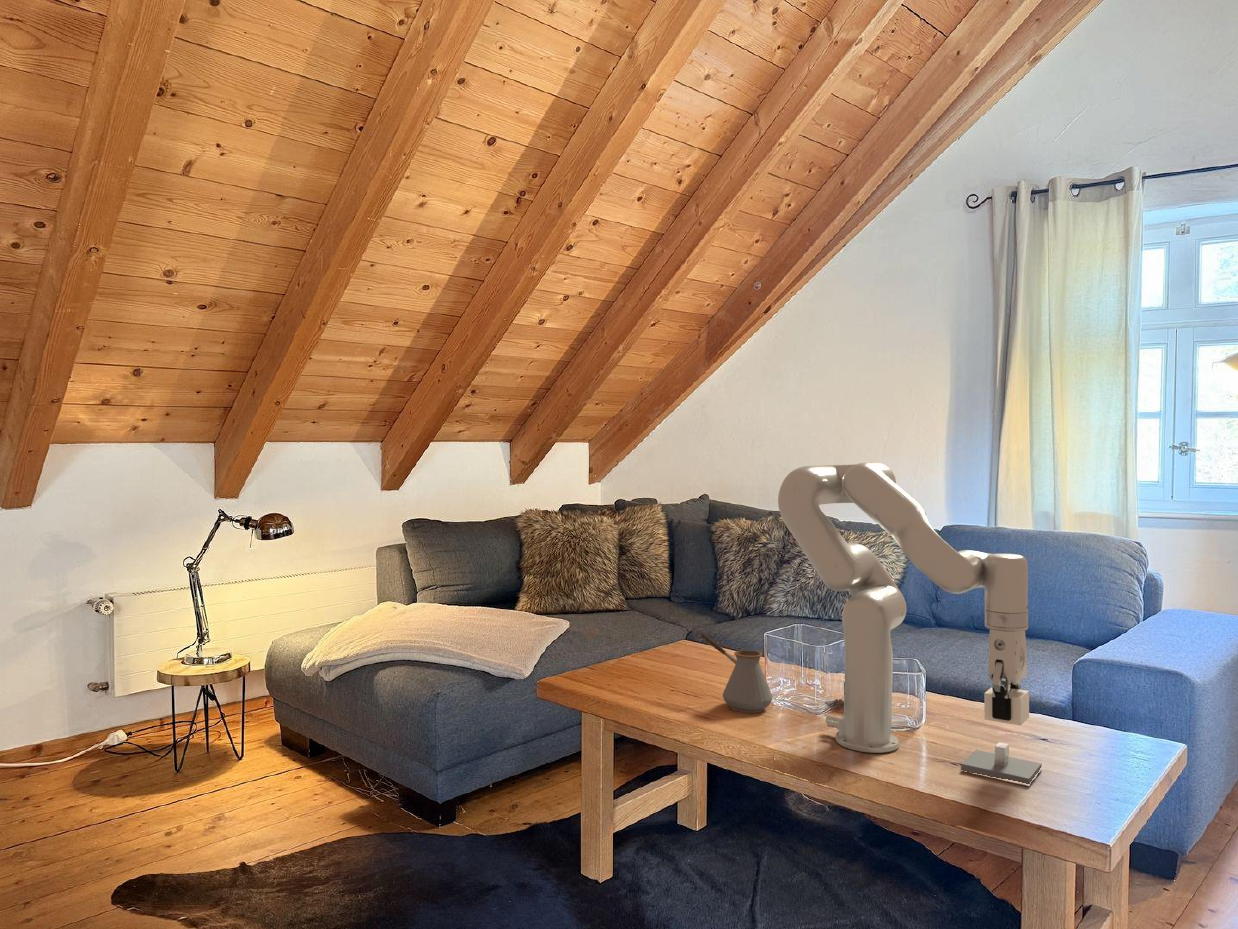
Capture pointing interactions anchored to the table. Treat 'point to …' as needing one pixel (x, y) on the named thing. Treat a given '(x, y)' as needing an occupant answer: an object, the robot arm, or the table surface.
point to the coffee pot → (745, 681)
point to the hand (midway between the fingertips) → (1006, 713)
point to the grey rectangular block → (1001, 754)
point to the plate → (1001, 767)
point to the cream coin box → (1017, 706)
